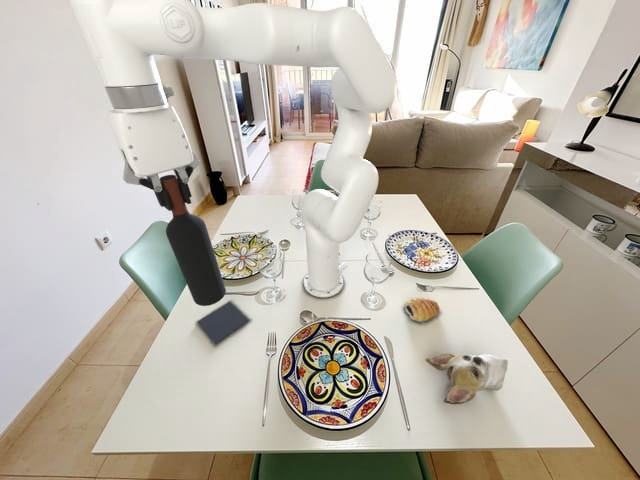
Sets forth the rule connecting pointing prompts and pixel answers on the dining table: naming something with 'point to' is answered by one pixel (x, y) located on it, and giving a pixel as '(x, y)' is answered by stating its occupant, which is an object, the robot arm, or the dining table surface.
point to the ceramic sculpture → (470, 374)
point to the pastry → (421, 309)
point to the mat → (222, 322)
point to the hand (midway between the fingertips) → (177, 204)
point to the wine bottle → (192, 248)
